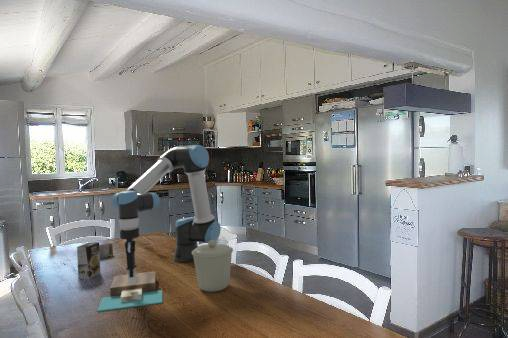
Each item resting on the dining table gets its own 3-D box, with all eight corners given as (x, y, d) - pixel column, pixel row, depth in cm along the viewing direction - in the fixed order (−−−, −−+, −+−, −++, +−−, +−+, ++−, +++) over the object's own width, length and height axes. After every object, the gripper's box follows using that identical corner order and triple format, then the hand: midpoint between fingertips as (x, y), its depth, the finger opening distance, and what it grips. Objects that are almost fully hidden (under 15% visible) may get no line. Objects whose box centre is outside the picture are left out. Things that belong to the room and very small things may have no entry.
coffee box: (89, 279, 171) (87, 246, 171) (77, 279, 172) (76, 246, 172) (101, 273, 180) (99, 242, 179) (90, 273, 181) (88, 241, 181)
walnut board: (155, 279, 168) (155, 271, 168) (155, 291, 152) (154, 282, 152) (115, 284, 163) (115, 275, 163) (110, 297, 148) (110, 287, 148)
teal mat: (162, 291, 153) (162, 290, 153) (162, 303, 140) (162, 301, 140) (102, 298, 147) (102, 297, 147) (97, 311, 134) (97, 310, 134)
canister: (240, 282, 160) (238, 236, 160) (224, 297, 143) (222, 246, 143) (204, 278, 166) (203, 234, 166) (185, 293, 149) (183, 244, 148)
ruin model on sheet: (93, 260, 205) (92, 244, 205) (92, 259, 207) (91, 243, 207) (113, 256, 213) (112, 240, 212) (111, 255, 215) (110, 239, 215)
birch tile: (142, 292, 151) (141, 287, 151) (141, 299, 143) (141, 294, 143) (122, 295, 149) (122, 290, 149) (120, 302, 141) (120, 297, 141)
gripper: (121, 226, 153) (124, 279, 153) (117, 232, 140) (120, 290, 141) (139, 224, 154) (142, 277, 155) (137, 230, 142) (140, 288, 143)
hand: (132, 283), depth 148 cm, fingers closed
